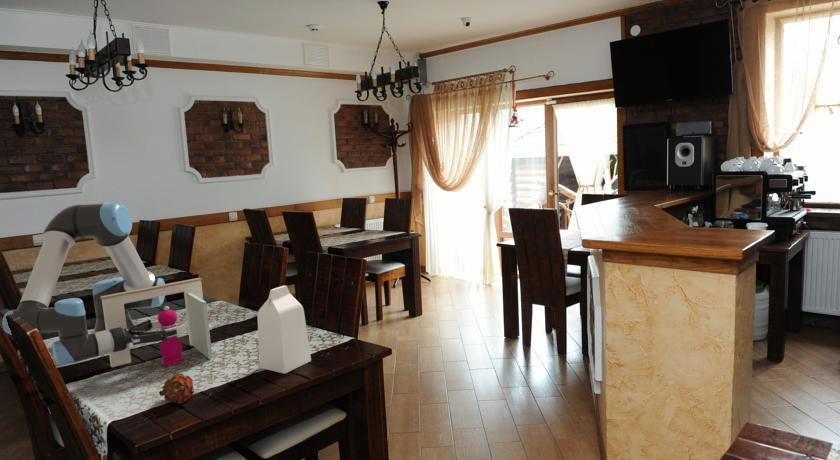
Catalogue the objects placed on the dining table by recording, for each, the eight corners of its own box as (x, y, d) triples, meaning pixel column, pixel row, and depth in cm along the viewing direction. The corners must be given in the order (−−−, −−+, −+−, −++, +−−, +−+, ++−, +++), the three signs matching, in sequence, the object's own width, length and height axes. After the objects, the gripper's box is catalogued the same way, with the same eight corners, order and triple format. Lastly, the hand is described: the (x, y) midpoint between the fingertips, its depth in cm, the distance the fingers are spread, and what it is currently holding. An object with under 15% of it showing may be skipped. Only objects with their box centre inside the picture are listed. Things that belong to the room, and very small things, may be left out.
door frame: (109, 366, 191) (100, 296, 188) (206, 340, 214) (199, 277, 210) (111, 367, 189) (102, 297, 186) (208, 341, 212) (202, 278, 208)
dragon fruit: (184, 414, 155) (172, 406, 164) (206, 388, 159) (193, 383, 168) (161, 395, 151) (150, 389, 161) (184, 370, 156) (172, 365, 165)
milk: (285, 373, 176) (277, 293, 172) (259, 367, 182) (252, 290, 179) (311, 360, 186) (304, 284, 183) (286, 355, 192) (279, 282, 189)
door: (208, 358, 192) (202, 302, 189) (192, 344, 207) (186, 292, 205) (216, 356, 193) (210, 300, 190) (199, 343, 209) (193, 291, 206)
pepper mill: (187, 357, 195) (180, 302, 193) (180, 365, 188) (173, 308, 186) (165, 359, 195) (159, 304, 192) (158, 367, 188) (151, 309, 185)
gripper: (102, 344, 188) (167, 328, 202) (123, 361, 169) (193, 343, 183) (99, 322, 187) (164, 308, 201) (120, 337, 168) (190, 321, 182)
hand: (178, 324), depth 192 cm, fingers open, 13 cm apart
